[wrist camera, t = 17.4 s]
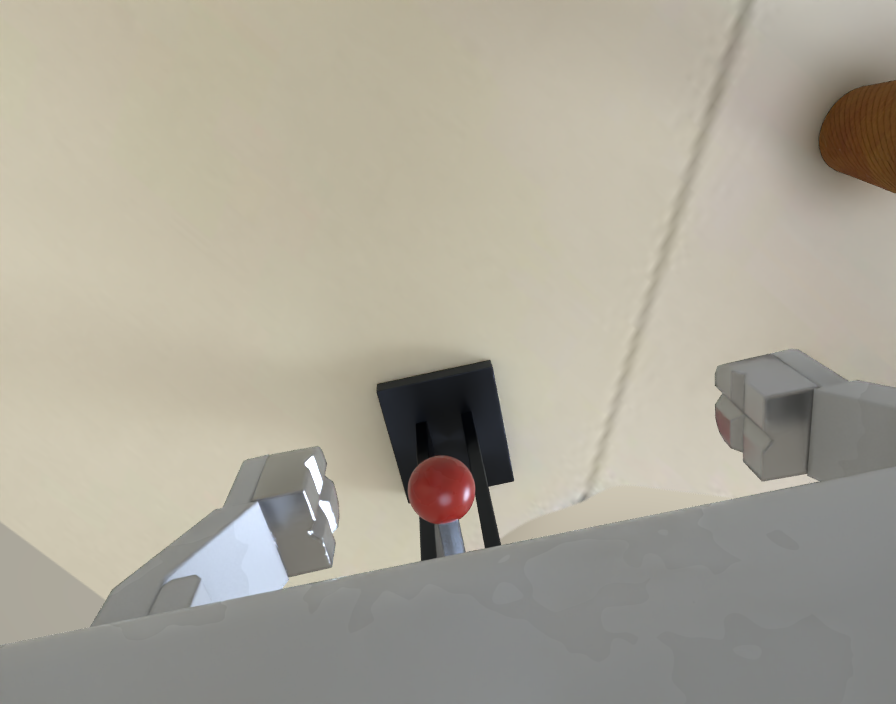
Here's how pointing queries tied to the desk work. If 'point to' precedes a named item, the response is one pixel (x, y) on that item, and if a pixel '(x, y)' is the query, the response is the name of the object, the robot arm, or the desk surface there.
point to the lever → (443, 497)
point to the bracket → (450, 435)
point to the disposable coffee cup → (863, 135)
